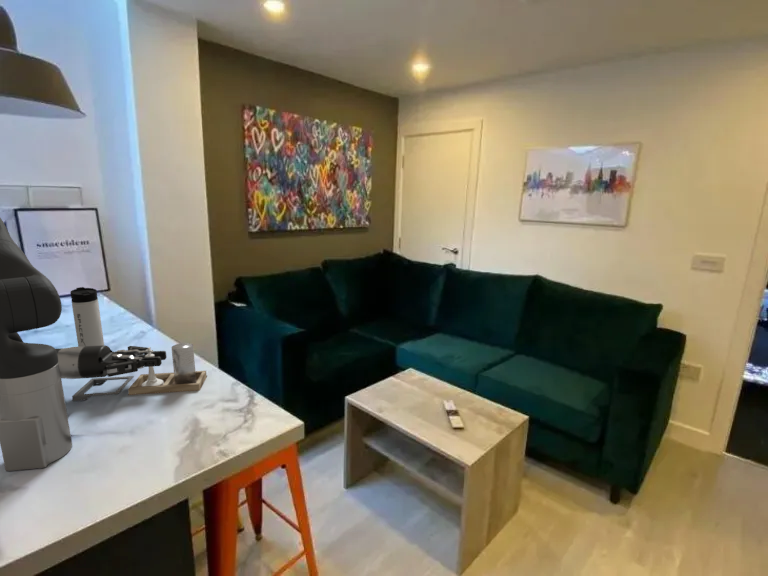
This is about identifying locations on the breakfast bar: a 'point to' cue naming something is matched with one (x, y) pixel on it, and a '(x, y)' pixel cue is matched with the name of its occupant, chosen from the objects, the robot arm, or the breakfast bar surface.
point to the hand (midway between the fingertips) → (163, 358)
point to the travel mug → (87, 317)
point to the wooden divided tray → (166, 384)
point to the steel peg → (184, 363)
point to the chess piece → (152, 374)
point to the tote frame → (80, 394)
